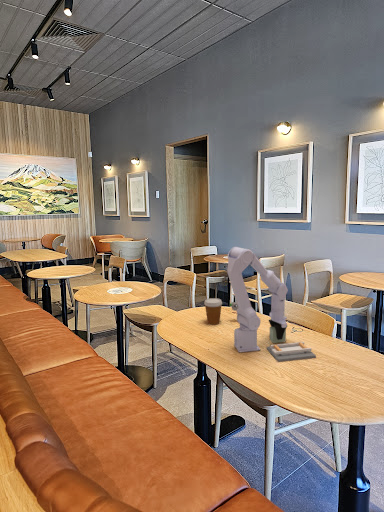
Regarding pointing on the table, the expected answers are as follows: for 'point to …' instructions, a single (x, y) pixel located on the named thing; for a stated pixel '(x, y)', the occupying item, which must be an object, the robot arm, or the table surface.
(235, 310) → the mechanical component
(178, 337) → the table surface
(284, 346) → the rail board
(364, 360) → the table surface
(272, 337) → the block
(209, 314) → the disposable coffee cup
